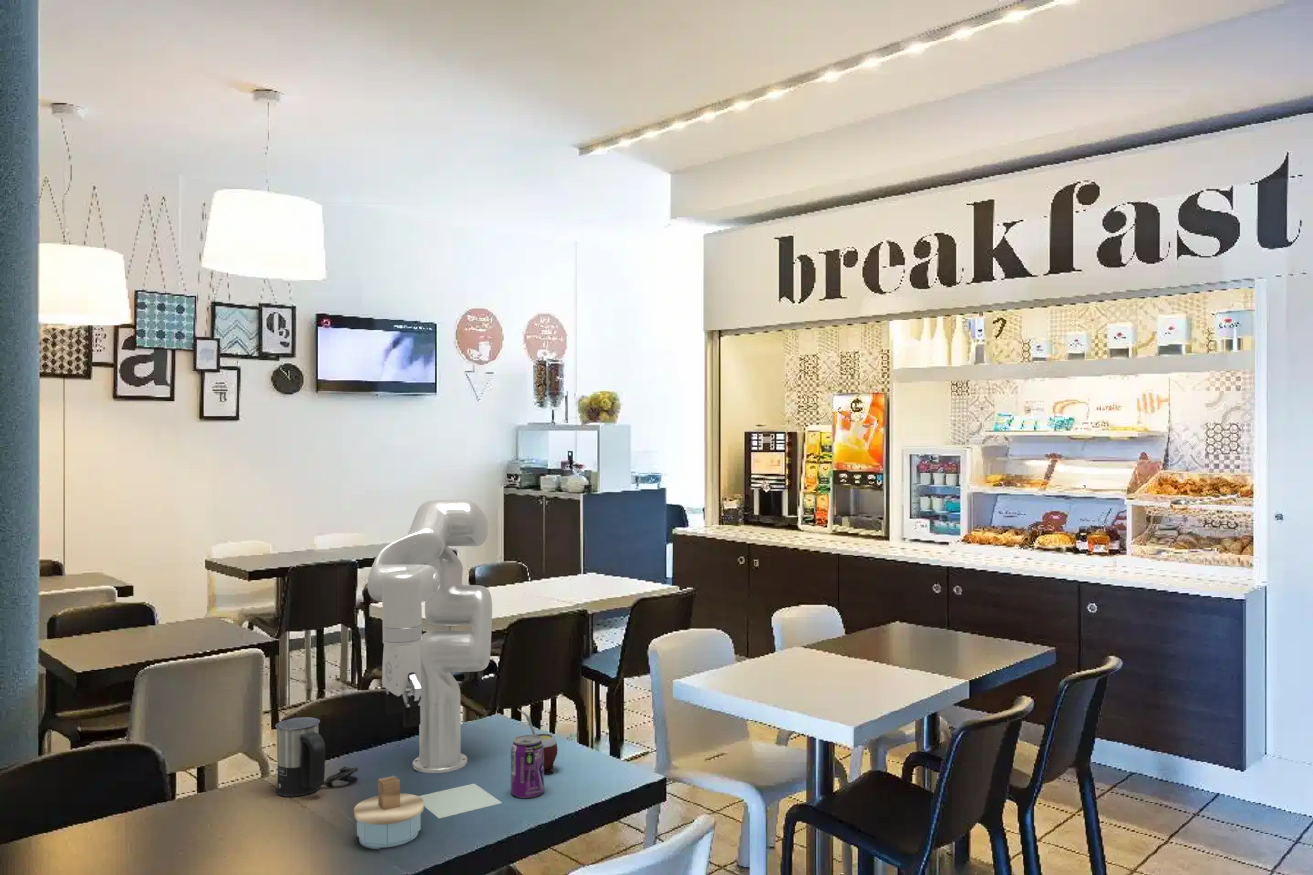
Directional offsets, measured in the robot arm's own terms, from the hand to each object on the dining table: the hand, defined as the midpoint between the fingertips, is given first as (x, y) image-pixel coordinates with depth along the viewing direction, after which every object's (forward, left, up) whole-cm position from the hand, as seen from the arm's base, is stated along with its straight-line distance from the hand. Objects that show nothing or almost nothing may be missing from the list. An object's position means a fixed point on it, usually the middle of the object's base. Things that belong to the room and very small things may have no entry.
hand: (403, 719), depth 187 cm
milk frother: (-33, -7, -22) cm, 40 cm away
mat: (-6, +14, -21) cm, 26 cm away
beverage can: (-1, +28, -22) cm, 35 cm away
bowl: (+3, -4, -21) cm, 22 cm away
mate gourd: (-12, +37, -22) cm, 44 cm away
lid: (+3, -4, -16) cm, 17 cm away
